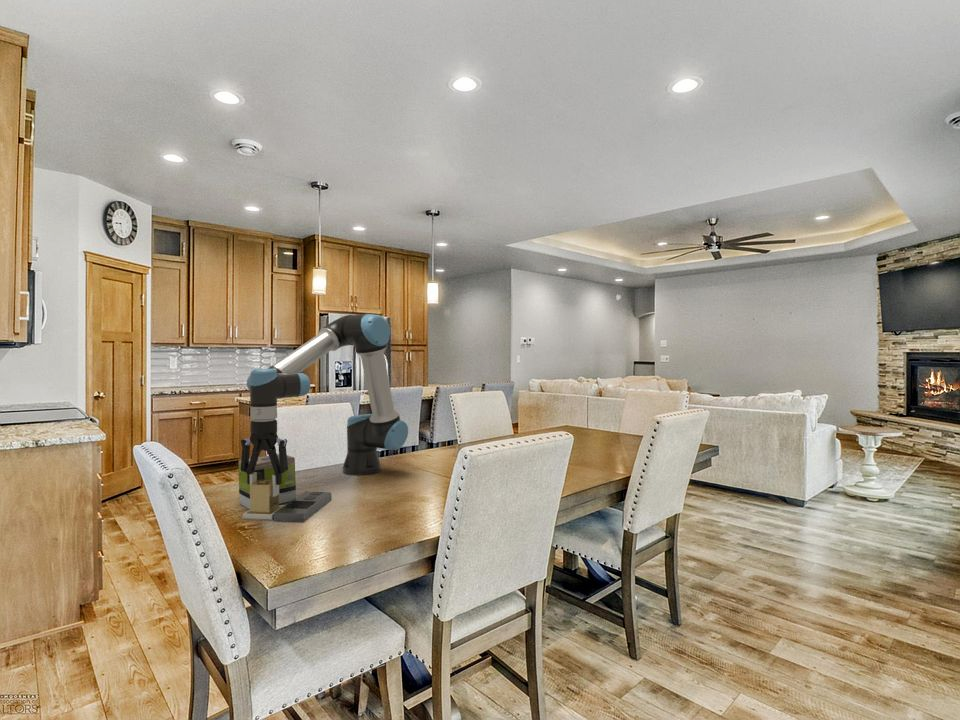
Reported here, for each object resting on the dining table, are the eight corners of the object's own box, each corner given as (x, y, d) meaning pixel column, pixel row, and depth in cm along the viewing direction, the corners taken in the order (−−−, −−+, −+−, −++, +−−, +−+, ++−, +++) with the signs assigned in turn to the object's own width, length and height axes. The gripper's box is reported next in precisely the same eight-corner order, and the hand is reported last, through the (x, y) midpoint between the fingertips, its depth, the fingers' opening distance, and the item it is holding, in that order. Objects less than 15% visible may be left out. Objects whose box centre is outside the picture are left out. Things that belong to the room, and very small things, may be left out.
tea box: (283, 494, 180) (283, 452, 180) (296, 501, 173) (296, 457, 172) (238, 504, 170) (237, 459, 169) (250, 511, 162) (249, 464, 162)
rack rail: (305, 498, 175) (305, 491, 175) (331, 499, 175) (331, 491, 175) (274, 521, 154) (274, 512, 153) (303, 522, 153) (303, 513, 153)
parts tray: (258, 509, 164) (258, 504, 164) (285, 510, 163) (285, 505, 163) (242, 519, 155) (242, 514, 155) (271, 520, 154) (271, 515, 154)
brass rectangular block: (260, 508, 162) (260, 477, 162) (278, 508, 162) (278, 478, 161) (250, 514, 156) (249, 482, 156) (269, 515, 156) (269, 483, 155)
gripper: (226, 421, 155) (227, 497, 156) (289, 422, 153) (289, 499, 154) (240, 417, 163) (240, 490, 163) (300, 418, 161) (300, 492, 162)
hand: (264, 494), depth 159 cm, fingers open, 6 cm apart
